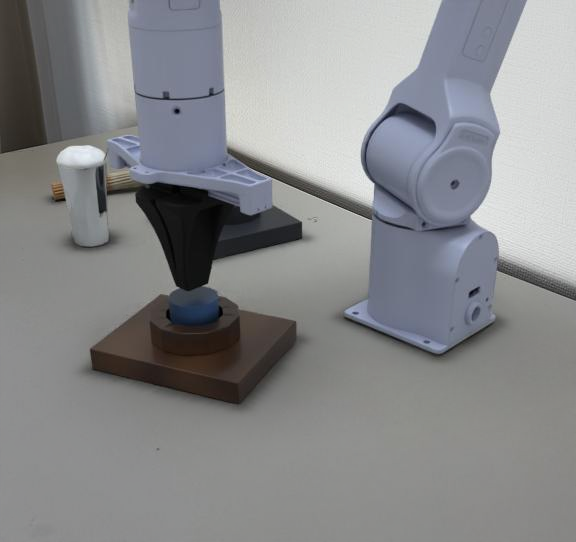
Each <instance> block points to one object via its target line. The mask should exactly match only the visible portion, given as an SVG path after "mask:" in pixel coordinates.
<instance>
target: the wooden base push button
mask: <svg viewBox="0 0 576 542" xmlns="http://www.w3.org/2000/svg"><path fill="white" fill-rule="evenodd" d="M168 298H169V295H168V294H164V293H161V294H159V295H157V296H156V297H155V298H154V299H152V300H151V301H150V302H149V303H147V304H146V305H145V306H143V307H142V308H140V309H139V310H138V311H137V312H135V313H134V314H133V315H131V316H130V317H128V319H127V320H125V321H124V322H123V323H121V324H120V325H118V326H117V327H116V328H114V329H113V330H112V331H111V332H110V333H108V334H107V335H106V336H104V337H103V338H102V339H100V340H99V341H97V342H96V343H95V344H94V345H92V346H91V347H90V348H89V354H90V362H91V368H92V370H97V371H100V372H104V373H109V374H111V375H112V374H113V375H117V376H122V377H126V378H129V379H134V380H137V381H142V382H146V383H150V384H155V385H159V386H163V387H168V388H171V389H174V390H175V389H176V390H180V391H184V392H187V393H193V394H196V395H200V396H205V397H207V398H213V399H217V400H220V401H224V402H231V403H232V404H233V403H234V404H237V405H239V404H240V403H241V402H242V401H243V400H244V399H245V398H246V397H247V396H248V394H249V393H250V392H252V390H253V389H255V387H256V386H257V384H258V383H259V382H260V381H261V380H262V379H263V378H265V376H266V375H267V373H268V372H269V371H270V370H271V369H272V368H273V367H274V366H275V365H276V363H278V361H279V360H280V359H281V358H282V357H283V356H284V354H286V352H288V350H289V349H290V348H291V347H292V346H293V345H294V344H295V343H296V341H297V320H294V319H288V318H284V317H278V316H275V315H270V314H269V315H268V314H264V313H258V312H253V311H248V310H244V309H239V305H238V304H237V303H235V302H234V301H233V300H231V299H229V298H227V297H226V296H222V295H218V298H219V319H218V320H217V321H215V322H212V323H209V324H206V325H203V326H184V325H179V324H174V323H173V322H171V320H170V311H169V299H168Z"/></svg>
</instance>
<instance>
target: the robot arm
mask: <svg viewBox="0 0 576 542" xmlns="http://www.w3.org/2000/svg"><path fill="white" fill-rule="evenodd" d="M527 1H528V0H441V2H440V5H439V7H438V10H437V12H436V15H435V18H434V21H433V24H432V27H431V29H430V31H429V35H428V37H427V41H426V43H425V46H424V49H423V51H422V54H421V58H420V60H419V63H418V66H417V67H416V69H414V70H413V71H412V72H411V73H410V74H408V75H407V76H406V77H405V78H404V79H402V80H401V81H400V82H398V84H396V85H395V86H394V87H393V88H392V90H391V94H390V96H389V99H388V102H387V104H386V106H385V107H384V109H383V110H382V112H381V114H380V115H379V116H378V117H376V119H375V120H374V122H372V124H371V125H370V126H369V127H368V129H367V131H366V132H365V134H364V137H363V139H362V143H361V146H360V147H361V148H360V163H361V166H362V170H363V172H364V174H365V176H366V177H367V178H368V180H369V181H370V182H371V183H373V184H374V185H373V200H372V205H371V206H372V209H371V210H372V212H371V231H370V232H371V233H370V248H369V249H370V251H369V252H370V253H369V270H368V289H367V290H368V291H367V299H365V300H362V301H360V302H358V303H357V304H355V305H353V306H351V307H349V308H346V309H345V310H344V317H345V318H347V319H349V320H352V321H355V322H357V323H360V324H362V325H364V326H367V327H370V328H371V329H374V330H376V331H379V332H381V333H383V334H386V335H389V336H392V337H394V338H396V339H398V340H401V341H404V342H406V343H407V344H410V345H413V346H415V347H418V348H420V349H423V350H425V351H428V352H430V353H432V354H436V355H440V354H443V353H445V352H447V351H448V350H450V349H451V348H453V347H455V346H456V345H458V344H459V343H461V342H463V341H464V340H466V339H467V338H469V337H471V336H472V335H474V334H476V333H478V332H479V331H482V329H484V328H486V327H487V326H489V325H491V324H492V323H494V322H495V321H496V315H495V314H494V313H492V310H493V309H492V308H493V304H494V303H493V302H494V295H495V288H496V280H497V273H498V272H497V271H498V265H499V264H498V263H499V256H500V255H499V254H500V247H499V241H498V238H497V236H496V234H495V233H493V232H492V231H490V230H488V229H487V228H484V227H483V226H481V225H480V224H478V223H477V222H475V220H474V219H472V215H473V214H475V212H476V211H477V210H478V209H479V208H480V206H482V204H483V203H484V201H485V199H486V197H487V195H488V194H489V193H488V192H489V190H490V188H491V183H492V178H493V155H494V151H495V148H496V144H497V143H498V142H497V141H498V140H499V137H500V135H501V129H500V124H499V121H498V118H497V115H496V110H495V108H494V104H493V101H492V96H491V93H492V90H493V88H494V85H495V82H496V80H497V77H498V74H499V72H500V70H501V67H502V65H503V62H504V60H505V57H506V54H507V52H508V50H509V47H510V45H511V42H512V39H513V37H514V34H515V32H516V29H517V27H518V25H519V22H520V19H521V17H522V14H523V12H524V9H525V8H526V4H527ZM127 25H128V35H129V37H128V38H129V49H130V58H131V59H130V60H131V68H132V69H131V70H132V81H133V90H134V99H135V100H134V101H135V102H134V103H135V110H136V121H137V131H138V136H137V135H133V134H125V135H121V136H117V137H113V138H109V139H107V140H106V144H107V147H108V153H107V156H108V163H109V167H111V168H114V169H116V170H122V169H125V168H127V169H128V171H129V173H130V178H131V179H132V180H135V181H138V182H140V183H143V184H149V188H147V187H145V188H142V189H140V190H139V189H138V190H137V191H136V192H135V194H134V197H135V204H137V206H138V207H139V208H140V210H141V211H142V213H143V214H144V215H145V217H146V218H147V220H148V221H149V223H150V225H151V227H152V229H153V230H154V232H155V234H156V237H157V238H158V241H159V244H160V247H161V249H162V251H163V254H164V256H165V259H166V262H167V266H168V269H169V271H170V274H171V277H172V279H173V282H174V284H175V287H176V288H178V289H179V288H181V289H183V290H185V291H191V290H194V289H196V288H199V287H201V286H206V285H208V284H209V282H210V277H211V272H212V267H213V262H214V259H213V258H214V254H215V250H216V246H217V243H218V240H219V237H220V234H221V231H222V229H223V227H224V224H225V222H226V220H227V218H228V216H229V214H230V212H231V211H232V209H233V207H234V205H236V206H239V207H240V212H242V213H244V214H247V215H250V216H251V215H254V214H257V213H260V212H262V211H265V210H268V209H270V208H272V205H273V178H271V177H268V176H265V175H263V174H261V173H258V172H256V171H255V170H254V169H252V168H251V167H249V166H247V165H246V164H244V163H243V162H242V161H240V160H238V159H237V158H235V156H233V155H231V153H228V141H227V140H228V139H227V117H226V116H227V114H226V90H225V63H224V62H225V61H224V38H223V35H224V34H223V14H222V11H221V0H128V11H127Z"/></svg>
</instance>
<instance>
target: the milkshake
mask: <svg viewBox="0 0 576 542" xmlns="http://www.w3.org/2000/svg"><path fill="white" fill-rule="evenodd" d="M107 156H108V146H107V147H106V151H105V152H104V151H103V150H102V149H100V148H98V147H95V146H93V145H90V144H86V145H69V146H67V147H66V148H65V149H63V150H62V151H60V152H59V153H58V155H57V157H56V166H57V169H58V174H59V177H60V182H62V186H63V190H64V194H65V198H64V199H65V203H66V206H67V211H68V212H67V213H68V216H69V221H70V226H71V231H72V233H73V234H72V235H73V239H74V243H75V244H77V245H78V246H80V247H87V248H88V247H89V248H92V247H93V248H94V247H98V246H103V245H104V244H107V243H108V242H109V236H110V235H109V232H110V231H109V213H108V212H109V210H108V208H109V207H108V191H107V174H108V160H107V159H108V158H107Z"/></svg>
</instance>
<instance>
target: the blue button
mask: <svg viewBox="0 0 576 542" xmlns="http://www.w3.org/2000/svg"><path fill="white" fill-rule="evenodd" d="M168 296H169V298H168V299H169V311H170V320H171V322H173V323H174V324H179V325H184V326H203V325H206V324H209V323H212V322H215V321H217V320H218V319H219V298H218V296H219V293H218V292H217V290H215V289H213V288H211V287H208V286H206V285H204V286H201V287H199V288H196V289H194V290H191V291H185V290H183V289H181V288H179V287H178V288H177V289H174V290H172V291H171V293H169V295H168Z"/></svg>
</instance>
